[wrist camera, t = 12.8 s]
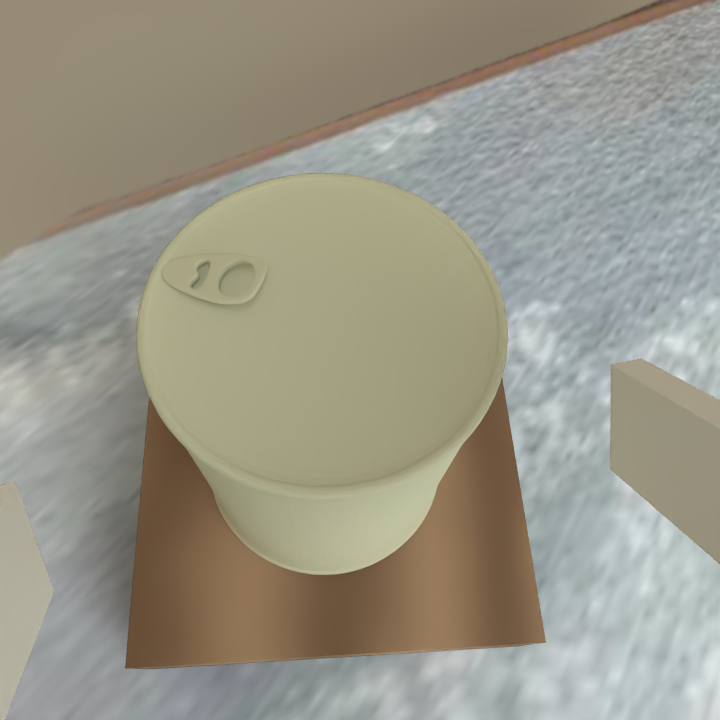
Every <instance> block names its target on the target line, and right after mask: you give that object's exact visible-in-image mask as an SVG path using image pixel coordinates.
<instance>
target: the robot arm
mask: <svg viewBox="0 0 720 720" xmlns="http://www.w3.org/2000/svg"><path fill="white" fill-rule="evenodd" d="M610 469H611V470H612V471H613V472H614V473H615V474H616V475H618V476H619V477H620V478H621V479H622V480H623V481H625V482H626V483H627V484H628V485H629V486H630V487H631V488H633V489H634V490H635V491H636V492H637V493H638V494H640V495H641V496H642V497H643V498H644V499H645V500H646V501H648V502H649V503H650V504H651V505H652V506H653V507H655V508H656V509H657V510H658V511H659V512H660V513H661V514H663V515H664V516H665V517H666V518H667V519H668V520H670V521H671V522H672V523H673V524H674V525H675V526H676V527H678V528H679V529H680V530H681V531H682V532H683V533H685V534H686V535H687V536H688V537H689V538H690V539H692V540H693V541H694V542H695V543H696V544H697V545H698V546H700V547H701V548H702V549H703V550H704V551H705V552H707V553H708V554H709V555H710V556H711V557H712V558H713V559H715V560H716V561H717V562H718V563H719V564H720V400H718V399H716V398H714V397H712V396H711V395H709V394H707V393H705V392H703V391H701V390H699V389H697V388H696V387H694V386H692V385H690V384H688V383H686V382H684V381H682V380H681V379H679V378H677V377H675V376H673V375H671V374H669V373H667V372H666V371H664V370H662V369H660V368H658V367H656V366H654V365H652V364H651V363H649V362H647V361H645V360H643V359H637V360H632V361H627V362H622V363H617V364H611V428H610ZM53 594H54V589H53V587H52V584H51V581H50V578H49V575H48V572H47V570H46V567H45V564H44V561H43V558H42V555H41V553H40V550H39V547H38V544H37V541H36V538H35V536H34V533H33V530H32V527H31V524H30V521H29V519H28V516H27V513H26V510H25V507H24V504H23V502H22V499H21V496H20V493H19V490H18V487H17V485H16V482H13V483H8V484H3V485H0V720H5V719H6V717H7V714H8V711H9V709H10V706H11V703H12V701H13V698H14V696H15V693H16V690H17V688H18V685H19V683H20V680H21V677H22V675H23V672H24V670H25V667H26V664H27V662H28V659H29V657H30V654H31V651H32V649H33V646H34V643H35V641H36V638H37V636H38V633H39V630H40V628H41V625H42V623H43V620H44V617H45V615H46V612H47V610H48V607H49V604H50V602H51V599H52V597H53Z"/></svg>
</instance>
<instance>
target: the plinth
mask: <svg viewBox="0 0 720 720" xmlns="http://www.w3.org/2000/svg"><path fill="white" fill-rule="evenodd" d="M545 642H546V641H545V635H544V629H543V623H542V616H541V610H540V604H539V598H538V592H537V586H536V580H535V574H534V568H533V562H532V556H531V550H530V544H529V538H528V532H527V526H526V520H525V514H524V508H523V502H522V496H521V489H520V483H519V477H518V471H517V465H516V459H515V453H514V447H513V441H512V435H511V429H510V423H509V417H508V411H507V405H506V399H505V393H504V387H503V381H502V378H501V382H500V385H499V387H498V390H497V392H496V395H495V397H494V399H493V401H492V403H491V405H490V407H489V409H488V411H487V412H486V414H485V416H484V417H483V419H482V421H481V422H480V424H479V425H478V426H477V428H476V429H475V430H474V432H473V433H472V434H471V435H470V436H469V437H468V439H467V440H466V441H465V442H464V443H463V444H462V446H461V447H460V449H459V451H458V452H457V454H456V456H455V457H454V459H453V461H452V462H451V464H450V466H449V467H448V469H447V471H446V472H445V474H444V476H443V477H442V479H441V481H440V482H439V484H438V486H437V490H436V494H435V497H434V499H433V502H432V505H431V507H430V509H429V511H428V513H427V515H426V517H425V519H424V520H423V522H422V523H421V525H420V526H419V528H418V529H417V530H416V531H415V533H414V534H413V535H412V536H411V537H410V538H409V539H408V540H407V541H406V542H405V543H404V544H403V545H402V546H401V547H399V548H398V549H397V550H396V551H395V552H393V553H392V554H390V555H388V556H387V557H385V558H384V559H382V560H380V561H378V562H377V563H375V564H373V565H370V566H368V567H365V568H362V569H359V570H356V571H352V572H347V573H342V574H334V575H313V574H305V573H300V572H295V571H291V570H288V569H285V568H282V567H280V566H277V565H275V564H273V563H271V562H269V561H267V560H265V559H264V558H262V557H260V556H259V555H257V554H256V553H255V552H253V551H252V550H251V549H249V548H248V547H247V546H246V545H245V544H244V543H243V542H242V541H241V540H240V539H239V538H238V537H237V536H236V535H235V534H234V532H233V531H232V530H231V528H230V527H229V526H228V524H227V523H226V521H225V520H224V518H223V516H222V514H221V512H220V510H219V508H218V505H217V503H216V500H215V497H214V494H213V490H212V489H211V487H210V485H209V483H208V482H207V480H206V479H205V477H204V476H203V474H202V472H201V471H200V469H199V468H198V466H197V465H196V463H195V462H194V460H193V458H192V457H191V455H190V454H189V452H188V451H187V449H186V448H185V447H184V446H183V445H182V444H181V443H180V442H179V441H178V439H177V438H176V437H175V436H174V435H173V434H172V432H171V431H170V430H169V429H168V428H167V426H166V425H165V423H164V422H163V420H162V419H161V417H160V416H159V414H158V412H157V410H156V409H155V407H154V405H153V403H152V401H151V399H150V397H149V405H148V416H147V427H146V438H145V450H144V461H143V472H142V484H141V495H140V506H139V518H138V529H137V540H136V552H135V563H134V574H133V585H132V597H131V608H130V619H129V631H128V642H127V653H126V665H125V668H133V669H160V668H176V667H192V666H208V665H224V664H241V663H257V662H273V661H289V660H305V659H321V658H337V657H354V656H370V655H386V654H402V653H418V652H434V651H450V650H466V649H483V648H499V647H515V646H523V645H530V644H538V643H545Z"/></svg>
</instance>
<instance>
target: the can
mask: <svg viewBox="0 0 720 720" xmlns="http://www.w3.org/2000/svg"><path fill="white" fill-rule="evenodd" d="M136 333H137V354H138V360H139V366H140V371H141V374H142V378H143V381H144V384H145V387H146V390H147V392H148V395H149V397H150V399H151V401H152V403H153V405H154V407H155V409H156V410H157V412H158V414H159V416H160V417H161V419H162V420H163V422H164V423H165V425H166V426H167V428H168V429H169V430H170V431H171V432H172V434H173V435H174V436H175V437H176V438H177V439H178V441H179V442H180V443H181V444H182V445H183V446H184V447H185V448H186V449H187V451H188V452H189V454H190V455H191V457H192V458H193V460H194V462H195V463H196V465H197V466H198V468H199V469H200V471H201V472H202V474H203V476H204V477H205V479H206V480H207V482H208V483H209V485H210V487H211V489H212V490H213V494H214V497H215V500H216V503H217V505H218V508H219V510H220V512H221V514H222V516H223V518H224V520H225V521H226V523H227V524H228V526H229V527H230V528H231V530H232V531H233V532H234V534H235V535H236V536H237V537H238V538H239V539H240V540H241V541H242V542H243V543H244V544H245V545H246V546H247V547H248V548H249V549H251V550H252V551H253V552H255V553H256V554H257V555H259V556H260V557H262V558H264V559H265V560H267V561H269V562H271V563H273V564H275V565H277V566H280V567H282V568H285V569H288V570H291V571H295V572H300V573H305V574H313V575H334V574H342V573H347V572H352V571H356V570H359V569H362V568H365V567H368V566H370V565H373V564H375V563H377V562H378V561H380V560H382V559H384V558H385V557H387V556H388V555H390V554H392V553H393V552H395V551H396V550H397V549H398V548H399V547H401V546H402V545H403V544H404V543H405V542H406V541H407V540H408V539H409V538H410V537H411V536H412V535H413V534H414V533H415V531H416V530H417V529H418V528H419V526H420V525H421V523H422V522H423V520H424V519H425V517H426V515H427V513H428V511H429V509H430V507H431V505H432V502H433V499H434V497H435V494H436V490H437V486H438V484H439V482H440V481H441V479H442V477H443V476H444V474H445V472H446V471H447V469H448V467H449V466H450V464H451V462H452V461H453V459H454V457H455V456H456V454H457V452H458V451H459V449H460V447H461V446H462V444H463V443H464V442H465V441H466V440H467V439H468V437H469V436H470V435H471V434H472V433H473V432H474V430H475V429H476V428H477V426H478V425H479V424H480V422H481V421H482V419H483V417H484V416H485V414H486V412H487V411H488V409H489V407H490V405H491V403H492V401H493V399H494V397H495V395H496V392H497V390H498V387H499V385H500V382H501V378H502V375H503V371H504V367H505V362H506V356H507V344H508V329H507V318H506V311H505V306H504V302H503V298H502V295H501V291H500V288H499V286H498V283H497V281H496V278H495V276H494V273H493V272H492V270H491V268H490V266H489V264H488V262H487V260H486V259H485V257H484V256H483V254H482V253H481V251H480V250H479V248H478V247H477V246H476V244H475V243H474V242H473V241H472V240H471V238H470V237H469V236H468V235H467V234H466V233H465V232H464V231H463V230H462V229H461V228H460V227H459V226H458V225H457V224H456V223H455V222H454V221H453V220H452V219H451V218H449V217H448V216H447V215H446V214H444V213H443V212H442V211H440V210H439V209H437V208H436V207H434V206H433V205H431V204H430V203H428V202H427V201H425V200H423V199H421V198H419V197H418V196H416V195H414V194H412V193H410V192H407V191H405V190H403V189H401V188H398V187H396V186H393V185H390V184H387V183H384V182H381V181H378V180H373V179H369V178H364V177H359V176H353V175H347V174H334V173H308V174H299V175H290V176H284V177H279V178H275V179H270V180H266V181H263V182H260V183H257V184H254V185H251V186H248V187H246V188H244V189H241V190H239V191H237V192H234V193H232V194H230V195H228V196H226V197H224V198H223V199H221V200H219V201H217V202H216V203H214V204H212V205H211V206H209V207H208V208H207V209H205V210H204V211H202V212H201V213H200V214H198V215H197V216H196V217H195V218H194V219H193V220H191V221H190V222H189V223H188V224H187V225H186V226H185V227H184V228H183V229H182V230H181V231H180V232H179V233H178V234H177V235H176V236H175V237H174V239H173V240H172V241H171V242H170V243H169V245H168V246H167V247H166V249H165V250H164V252H163V253H162V254H161V256H160V257H159V259H158V260H157V262H156V264H155V266H154V268H153V270H152V272H151V274H150V276H149V278H148V281H147V283H146V286H145V289H144V291H143V295H142V298H141V302H140V306H139V312H138V319H137V331H136Z"/></svg>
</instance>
